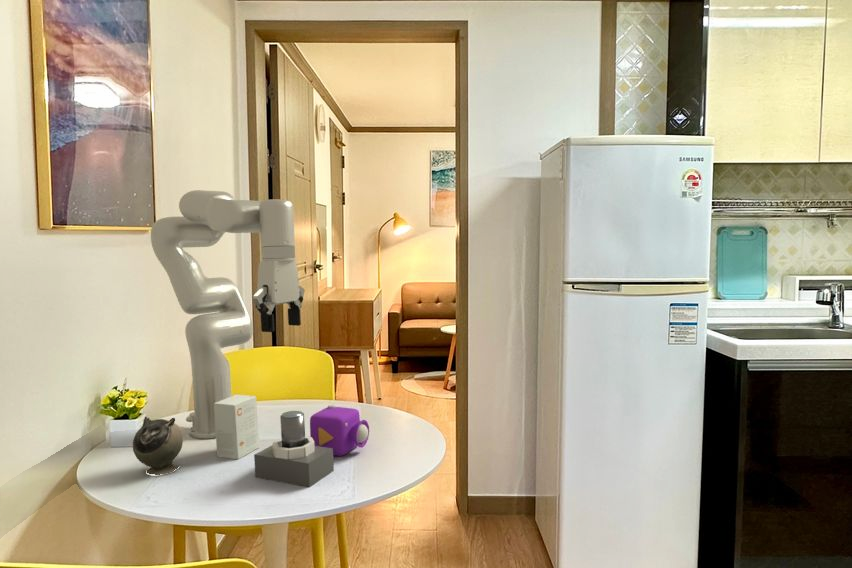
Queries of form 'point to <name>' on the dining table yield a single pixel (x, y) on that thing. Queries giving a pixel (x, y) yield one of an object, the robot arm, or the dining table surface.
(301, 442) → the lens
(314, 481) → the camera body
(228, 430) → the small box
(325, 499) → the dining table surface
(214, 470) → the dining table surface
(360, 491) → the dining table surface
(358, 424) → the toy camera
